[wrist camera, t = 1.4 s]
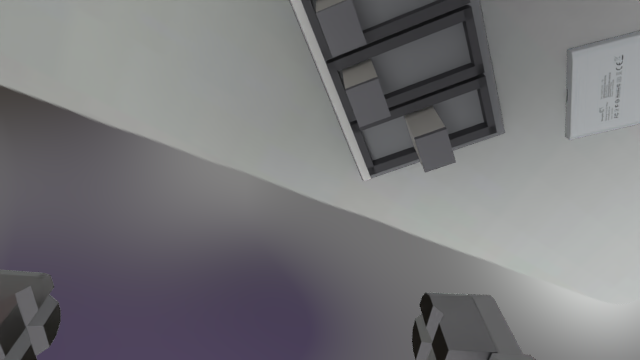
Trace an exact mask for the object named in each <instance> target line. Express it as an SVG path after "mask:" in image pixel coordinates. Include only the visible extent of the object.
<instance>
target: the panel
mask: <svg viewBox="0 0 640 360" xmlns="http://www.w3.org/2000/svg"><path fill="white" fill-rule="evenodd" d="M289 1H290V4H291V6H292V8H293V11H294V13H295V16H296V18H297V21H298V23H299V26H300V28H301V31H302V33H303V36H304V38H305V40H306V43H307V45H308V48H309V50H310V53H311V55H312V58H313V60H314V63H315V65H316V67H317V70H318V72H319V75H320V77H321V80H322V82H323V85H324V87H325V90H326V92H327V94H328V97H329V99H330V102H331V104H332V107H333V109H334V112H335V114H336V117H337V119H338V122H339V124H340V126H341V129H342V131H343V134H344V136H345V139H346V141H347V144H348V146H349V149H350V151H351V153H352V156H353V158H354V161H355V163H356V166H357V168H358V171H359V173H360V176H361V178H362V180H363V181H366V180H369V179H371V178H373V177H376V176H379V175H382V174H385V173H388V172H391V171H394V170H397V169H400V168H403V167H406V166H409V165H412V164H415V163H418V162H420V159H419V157H418V155H417V152H416V150H415V148H414V145H413V143H412V139H411V136H410V133H409V130H408V127H407V124H406V121H405V117H404V115H407V114H410V113H413V112H415V111H418V110H421V109H424V108H426V107H429V106H433V108H434V109H435V111H436V113H437V114H438V116H439V117H440V119H441V121H442V122H443V124H444V125H445V127H446V129H447V132H448V136H449V139H450V143H451V147H452V150H456V149H459V148H462V147H465V146H468V145H471V144H474V143H477V142H480V141H483V140H486V139H489V138H492V137H494V136H497V135H500V134H503V133H505V130H504V125H503V119H502V114H501V109H500V104H499V99H498V93H497V88H496V83H495V78H494V73H493V68H492V62H491V57H490V52H489V47H488V42H487V36H486V31H485V26H484V21H483V16H482V10H481V5H480V0H352V1H353V4H354V7H355V10H356V13H357V16H358V19H359V22H360V25H361V28H362V31H363V34H364V37H365V40H366V43H367V44H365V45H363V46H360V47H358V48H355V49H353V50H350V51H348V52H345V53H343V54H340V55H338V56H335V57H332V54H331V52H330V49H329V47H328V44H327V41H326V39H325V36H324V33H323V31H322V28H321V26H320V23H319V20H318V18H317V15H316V1H317V0H289ZM369 59H371V61H372V64H373V66H374V69H375V71H376V74H377V76H378V79H379V82H380V85H381V88H382V91H383V94H384V97H385V100H386V103H387V106H388V109H389V112H390V115H391V116H390V117H387V118H384V119H382V120H379V121H376V122H373V123H371V124H368V125H365V126H362V127H360V128H359V125H358V122H357V120H356V117H355V115H354V112H353V109H352V107H351V104H350V101H349V99H348V96H347V94H346V91H345V85H344V80H343V74H342V70H343V69H346V68H348V67H351V66H354V65H356V64H359V63H361V62H364V61H366V60H369Z"/></svg>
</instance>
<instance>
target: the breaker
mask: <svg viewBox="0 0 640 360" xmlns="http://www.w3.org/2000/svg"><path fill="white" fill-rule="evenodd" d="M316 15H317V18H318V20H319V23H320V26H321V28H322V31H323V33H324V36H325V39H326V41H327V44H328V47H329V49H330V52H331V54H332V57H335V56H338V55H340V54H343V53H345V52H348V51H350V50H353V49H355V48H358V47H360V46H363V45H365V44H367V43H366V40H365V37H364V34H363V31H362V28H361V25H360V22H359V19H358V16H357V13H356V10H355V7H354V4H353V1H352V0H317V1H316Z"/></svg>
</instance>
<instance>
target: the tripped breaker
mask: <svg viewBox="0 0 640 360" xmlns="http://www.w3.org/2000/svg"><path fill="white" fill-rule="evenodd" d="M404 117H405V121H406V124H407V127H408V130H409V133H410V136H411V139H412V143H413V145H414V148H415V150H416V152H417V155H418V157H419V159H420V162H421V164H422V166H423V169H424V171H425V172H428V171H431V170H434V169H437V168H440V167H443V166H446V165H449V164H452V163H455V158H454V154H453V150H452V147H451V143H450V139H449V136H448V132H447V129H446V127H445V125H444V124H443V122H442V121H441V119H440V117H439V116H438V114H437V113H436V111H435V109H434V108H433V106H429V107H426V108H424V109H421V110H418V111H415V112H413V113H410V114H407V115H404Z"/></svg>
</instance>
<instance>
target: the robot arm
mask: <svg viewBox="0 0 640 360" xmlns="http://www.w3.org/2000/svg"><path fill="white" fill-rule="evenodd" d="M53 288H54V285H53V282H52V279H51V276H50V275H48V274H45V273H35V272H23V271H10V270H0V360H37V358H36V355H38V354H40V353H41V352H43V351H44V350H46V349H47V348H49V347H50V345H51V343H52V342H53V340H54V338H55V336H56V335H57V331H58V328H59V324H60V317H61V316H60V314H61V313H60V307H59V303H58V301H56V300H55V299H54V298H53V297H51V296H50V295H49V294H50V292H51V291H52V289H53ZM420 308H421V312H422V314H421V315H420V316H418V317H417V318H416V319H415V322H414V326H413V332H412V346H413V352H414V356H415V360H536V359H535V358H534V357H532V356H531V355H525V354H523V352H522V350H521V349H520V347H519V345H518V343H517V341H516V339H515V337H514V335H513V333H512V332H511V330H510V328H509V326H508V324H507V322H506V320H505V318H504V316H503V315H502V313H501V311H500V309H499V307H498V305H497V303H496V301H495V299H494V298H493V297H492V296H490V295H476V294H468V295H466V294H448V293H424V295H423V296H422V298H421V302H420Z"/></svg>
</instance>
